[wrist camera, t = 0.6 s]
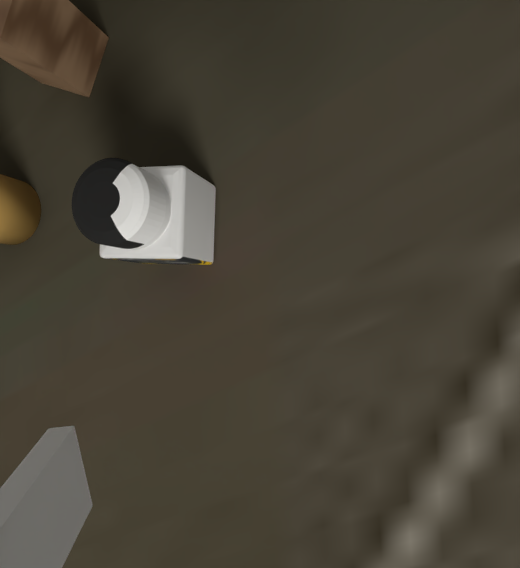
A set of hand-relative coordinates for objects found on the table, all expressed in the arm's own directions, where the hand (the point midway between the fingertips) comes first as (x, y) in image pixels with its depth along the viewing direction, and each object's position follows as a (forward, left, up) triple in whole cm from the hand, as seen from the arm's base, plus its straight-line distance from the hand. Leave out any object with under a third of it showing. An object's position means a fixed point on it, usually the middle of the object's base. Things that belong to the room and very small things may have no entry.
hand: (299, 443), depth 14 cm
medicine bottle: (0, -19, -26) cm, 33 cm away
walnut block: (-7, -38, -26) cm, 47 cm away
